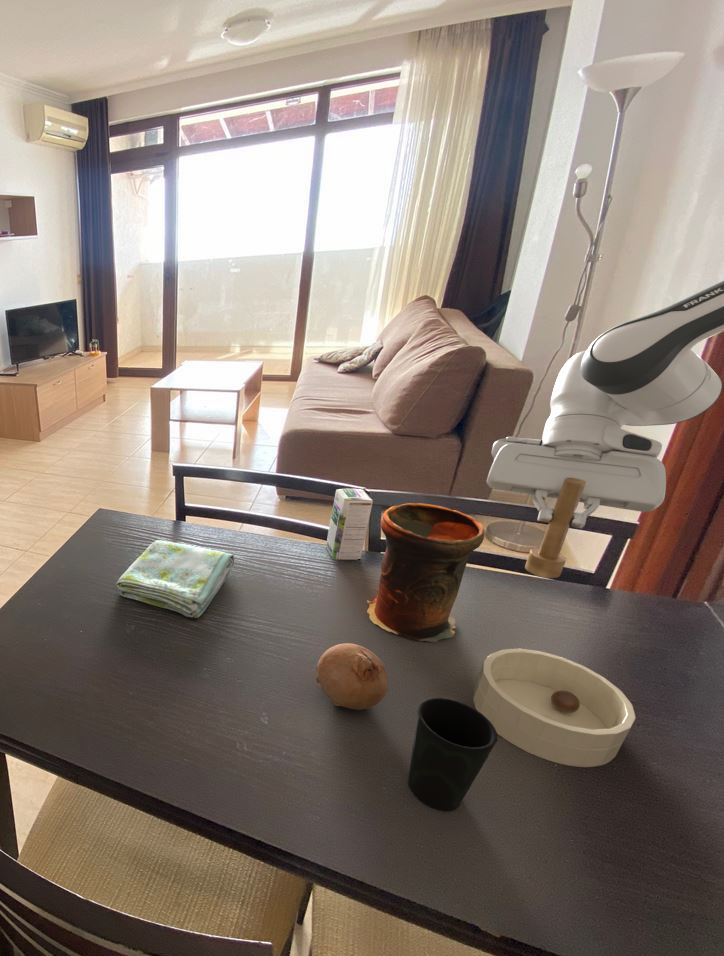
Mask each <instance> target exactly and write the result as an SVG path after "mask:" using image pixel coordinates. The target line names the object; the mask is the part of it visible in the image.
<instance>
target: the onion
mask: <svg viewBox="0 0 724 956" xmlns="http://www.w3.org/2000/svg"><path fill="white" fill-rule="evenodd" d="M316 672H317V673H316V675H317V677H316V679H315V680H316V682H317V684H319V685H320V687H321V689H322V690H323V692H324V693H325V695H326V696H327V697H328V698H329V699H330V700H331V703H332V704H333V705H334V706H337V707H342V708H343V707H344V708H347V709H350V710H356V711H357V710H358V711H361V710H367V709H370V708H372V707H374V706H376V705H378V704H379V703H381V702H382V701H383V699H385V697H386V696H387V693H388V690H389V677H388V673H387V670H386V667H385V665H384V663H383V661H382V660H381V659H380V658H379V657H378V656H377V655H376V654H375V653H374V652H372V651H371V650H369V649H368V648H366V647H364V646H362V645H359V644H355V643H349V642H347V643H345V642H344V643H338V644H336V645H335V644H334V645H333V646H330V648H328V649H326V650H325V651H324V653H322V655H321V656H320V658H319V660H318V662H317V666H316Z"/></svg>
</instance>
